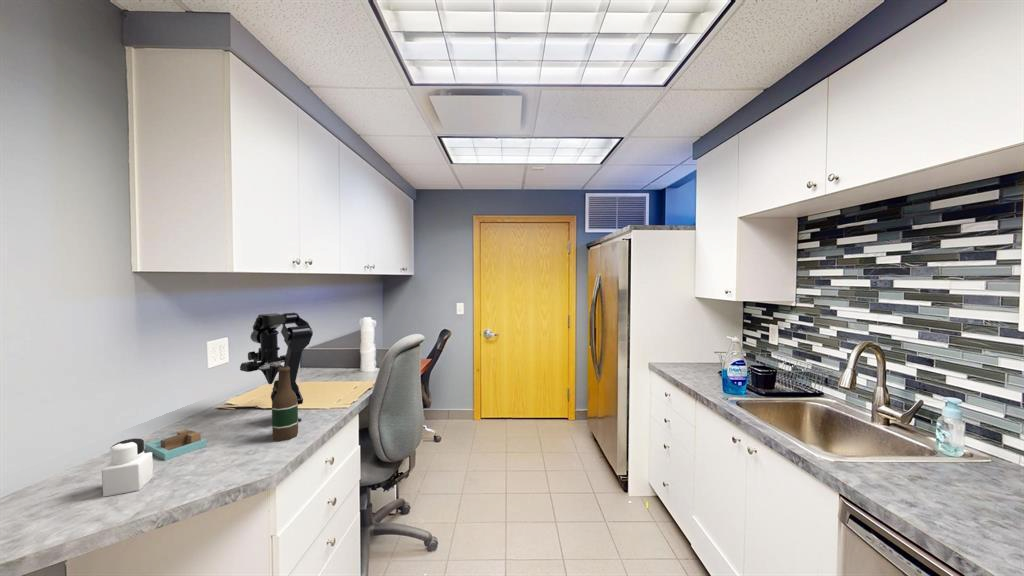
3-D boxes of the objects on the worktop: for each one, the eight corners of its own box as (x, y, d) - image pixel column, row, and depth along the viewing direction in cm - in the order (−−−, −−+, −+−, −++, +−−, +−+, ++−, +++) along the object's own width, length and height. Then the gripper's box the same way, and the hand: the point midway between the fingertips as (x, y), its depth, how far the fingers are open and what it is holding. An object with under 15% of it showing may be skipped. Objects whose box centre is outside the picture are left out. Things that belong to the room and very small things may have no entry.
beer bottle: (269, 437, 126) (267, 367, 126) (294, 430, 132) (292, 363, 131) (276, 444, 121) (274, 371, 120) (302, 436, 127) (300, 366, 126)
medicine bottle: (118, 483, 99) (117, 438, 98) (153, 477, 101) (152, 433, 101) (102, 497, 92) (100, 450, 92) (140, 490, 95) (138, 444, 95)
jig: (207, 446, 120) (206, 440, 120) (165, 460, 111) (164, 453, 111) (186, 437, 127) (186, 431, 127) (145, 450, 118) (144, 443, 117)
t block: (156, 451, 117) (155, 439, 116) (186, 441, 124) (185, 429, 124) (170, 456, 113) (170, 443, 113) (200, 445, 121) (200, 432, 121)
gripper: (281, 340, 159) (282, 376, 160) (231, 347, 143) (233, 387, 143) (296, 342, 154) (298, 379, 154) (247, 350, 138) (248, 391, 138)
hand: (270, 384), depth 148 cm, fingers closed
